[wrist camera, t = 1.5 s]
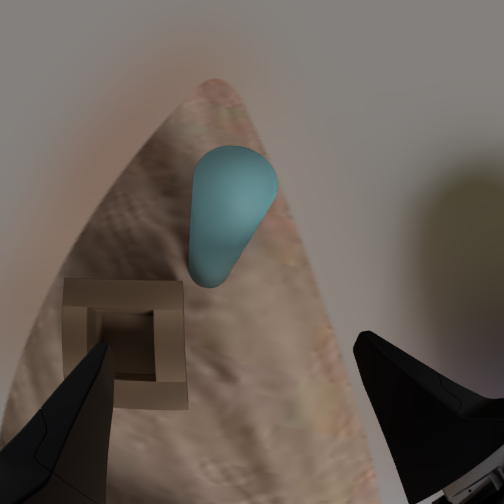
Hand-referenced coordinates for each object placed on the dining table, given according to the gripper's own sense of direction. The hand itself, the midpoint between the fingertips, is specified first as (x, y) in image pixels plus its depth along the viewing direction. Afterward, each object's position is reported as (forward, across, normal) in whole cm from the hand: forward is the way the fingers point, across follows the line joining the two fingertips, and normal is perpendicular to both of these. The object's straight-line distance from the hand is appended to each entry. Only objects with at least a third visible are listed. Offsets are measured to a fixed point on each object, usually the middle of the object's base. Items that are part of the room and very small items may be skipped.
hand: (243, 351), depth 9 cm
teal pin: (+13, 0, +4) cm, 14 cm away
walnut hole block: (+9, +6, +9) cm, 14 cm away
